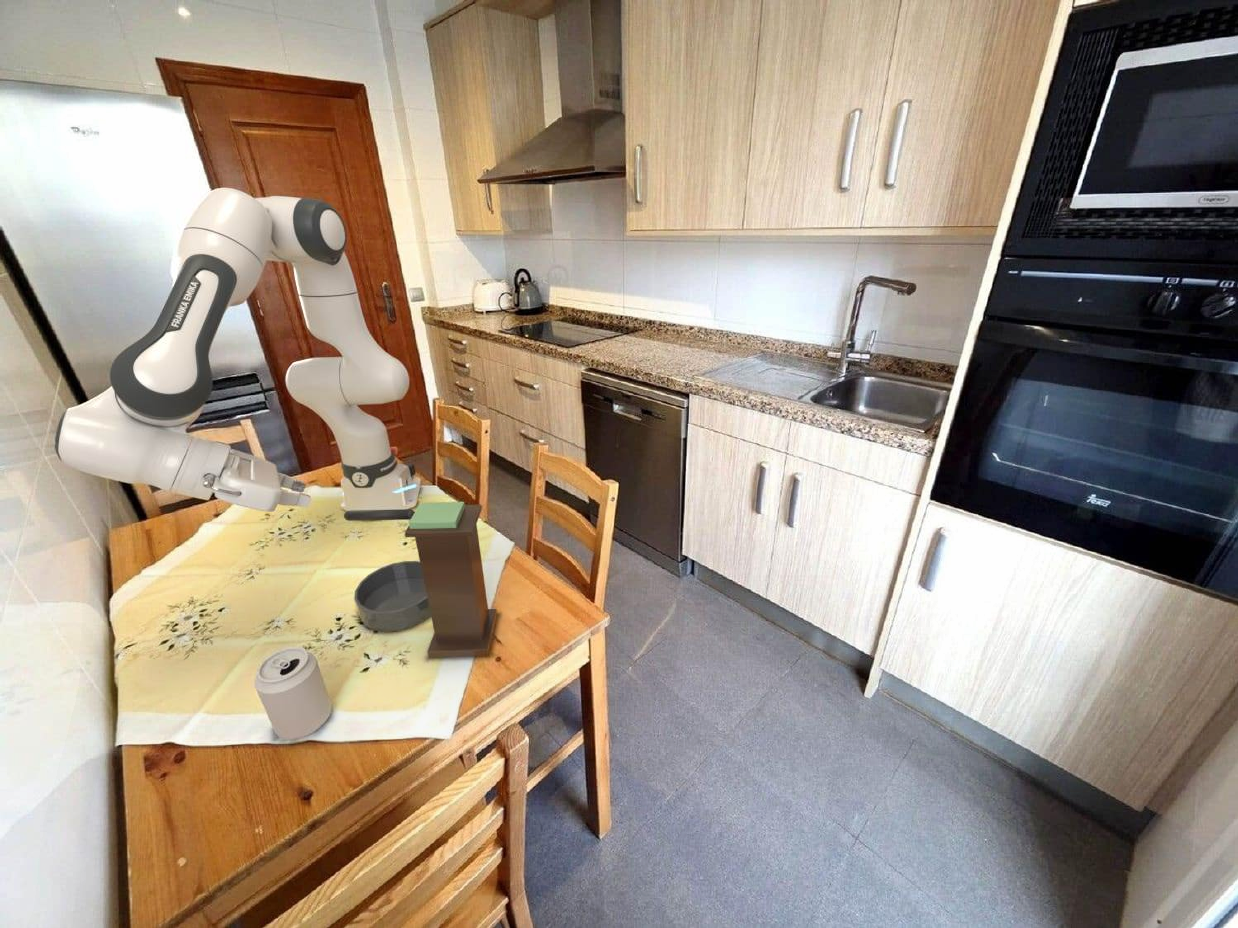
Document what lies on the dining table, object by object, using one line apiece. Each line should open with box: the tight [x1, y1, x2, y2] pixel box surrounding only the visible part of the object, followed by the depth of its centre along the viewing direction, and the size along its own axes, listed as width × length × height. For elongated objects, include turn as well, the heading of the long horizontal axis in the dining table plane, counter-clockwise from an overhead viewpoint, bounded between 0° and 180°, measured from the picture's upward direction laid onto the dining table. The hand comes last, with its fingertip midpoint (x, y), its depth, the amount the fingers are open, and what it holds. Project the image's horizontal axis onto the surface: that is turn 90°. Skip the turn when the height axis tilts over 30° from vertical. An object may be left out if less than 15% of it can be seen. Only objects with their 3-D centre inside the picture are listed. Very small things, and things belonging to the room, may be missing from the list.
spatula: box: [343, 501, 466, 529], centre depth 79 cm, size 18×6×2 cm, turn 93°
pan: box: [353, 560, 431, 633], centre depth 97 cm, size 15×15×4 cm
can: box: [253, 646, 333, 740], centre depth 72 cm, size 8×8×12 cm
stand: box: [404, 504, 498, 659], centre depth 85 cm, size 10×10×25 cm
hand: (307, 494), depth 85 cm, fingers open, 8 cm apart
